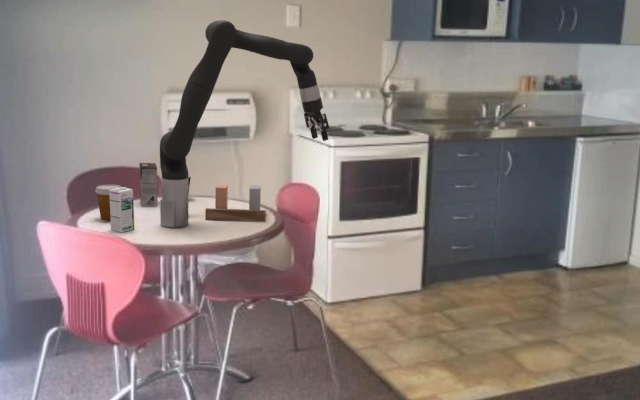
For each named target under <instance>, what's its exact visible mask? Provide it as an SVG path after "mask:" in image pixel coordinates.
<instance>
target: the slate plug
mask: <svg viewBox="0 0 640 400" xmlns="http://www.w3.org/2000/svg"><path fill="white" fill-rule="evenodd" d="M261 190H262V186H261V185H250V186H249V195H248V198H249V199H248V202H249V203H248V204H249V205H248V206H249V207H248V210H261V202H262V201H261V199H262V196H261V193H262V191H261Z"/></svg>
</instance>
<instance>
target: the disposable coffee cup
mask: <svg viewBox="0 0 640 400" xmlns="http://www.w3.org/2000/svg"><path fill="white" fill-rule="evenodd" d="M121 187H122V186H121V185H119V184H101V185H98V186H96V188H95V194H96V198H97V204H98V210H99V215H100V220H101V221H103V222H104V221H105V222H111V216H110V195H109V190H111V189H117V188H121Z"/></svg>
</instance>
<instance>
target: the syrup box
mask: <svg viewBox="0 0 640 400" xmlns="http://www.w3.org/2000/svg"><path fill="white" fill-rule="evenodd" d="M109 195H110V216H111V221H110V230H111V231H114V232H117V233H121V234H122V233H125V232H128V231H134V230H135V209H134V205H135V204H134V189H133V188H129V187H126V186H125V187H124V186H123V187H122V186H121V188H117V189H111V190H109Z"/></svg>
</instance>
